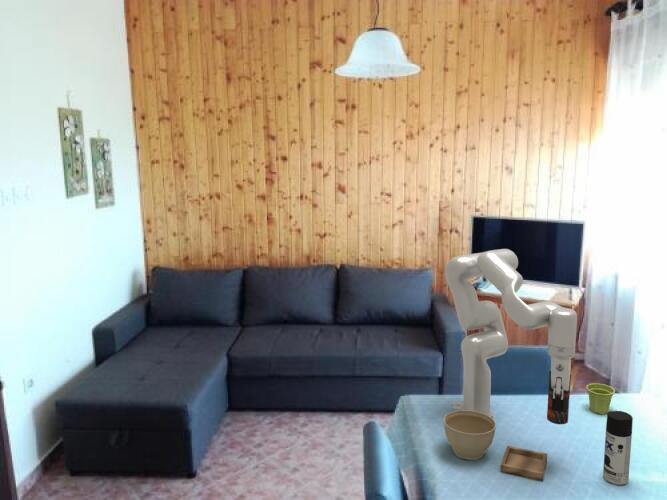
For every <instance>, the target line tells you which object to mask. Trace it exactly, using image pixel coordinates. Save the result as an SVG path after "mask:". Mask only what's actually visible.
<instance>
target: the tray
mask: <svg viewBox="0 0 667 500" xmlns="http://www.w3.org/2000/svg"><path fill="white" fill-rule="evenodd" d="M547 462H548V453H544V452H541V451H536V450H531V449H530V450H529V449H526V448H521V447H516V446H512V445H506V448H505V451H504V454H503V457H502V460H501V462H500V473H503V472H504V473H503V474H507V473H508V475H512V474H513V475H512V476H517V477H522V478H526V479H530V480H534V481H538V482H544V477H545V473H546V467H547Z"/></svg>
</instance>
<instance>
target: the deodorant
mask: <svg viewBox="0 0 667 500" xmlns="http://www.w3.org/2000/svg"><path fill="white" fill-rule="evenodd" d="M571 379H572V374H571V373H570V384H569V390H568V391H566V390H564V392H563V399H564V407H563V412H558V411H553V410H552V397H553V391H554V388H553V389H552V388H551V370H550V371H549V374H548V390H547V408H546V409H547V410H546V419H547V420H546V421H548V422H550V423H551V424H555V425H566V424H568V422H569V409H570V395H571V393H570V392H571V382H572V381H571ZM561 382H562V378H561ZM555 388H556V386H555ZM561 389H562V387H561ZM555 392H556V390H555ZM560 393H562V391H561V392H560Z"/></svg>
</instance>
